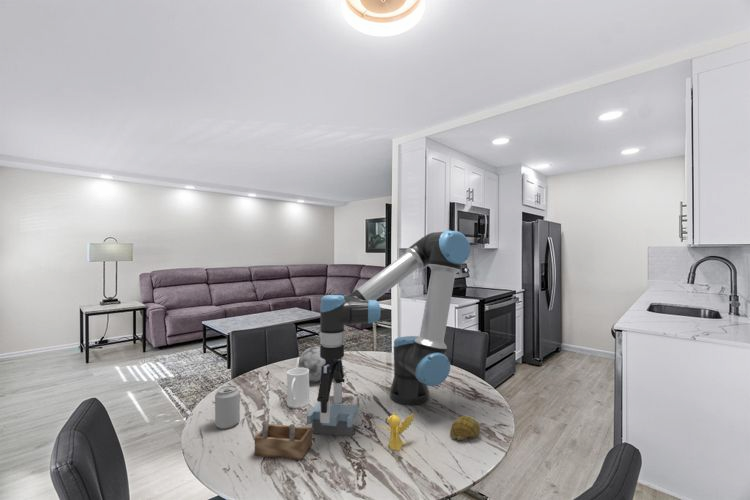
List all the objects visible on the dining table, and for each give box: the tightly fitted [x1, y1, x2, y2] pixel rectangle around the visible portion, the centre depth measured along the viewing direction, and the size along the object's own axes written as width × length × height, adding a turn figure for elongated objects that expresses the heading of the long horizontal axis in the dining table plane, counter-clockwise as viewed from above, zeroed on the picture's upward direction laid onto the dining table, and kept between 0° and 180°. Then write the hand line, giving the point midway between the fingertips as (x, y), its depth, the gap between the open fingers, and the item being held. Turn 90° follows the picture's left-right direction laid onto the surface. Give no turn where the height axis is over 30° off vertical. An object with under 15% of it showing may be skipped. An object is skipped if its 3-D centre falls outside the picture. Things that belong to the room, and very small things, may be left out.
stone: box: [297, 345, 326, 383], centre depth 150 cm, size 15×16×15 cm
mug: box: [286, 367, 311, 409], centre depth 126 cm, size 12×8×12 cm
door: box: [306, 402, 359, 427], centre depth 107 cm, size 14×9×2 cm, turn 80°
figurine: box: [374, 412, 415, 451], centre depth 100 cm, size 12×12×9 cm
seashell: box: [449, 415, 481, 441], centre depth 103 cm, size 10×7×8 cm
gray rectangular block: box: [312, 419, 354, 437], centre depth 107 cm, size 12×4×4 cm, turn 80°
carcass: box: [254, 421, 313, 461], centre depth 97 cm, size 14×8×9 cm, turn 80°
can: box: [214, 384, 241, 430], centre depth 112 cm, size 8×8×12 cm
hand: (331, 412), depth 107 cm, fingers open, 13 cm apart
